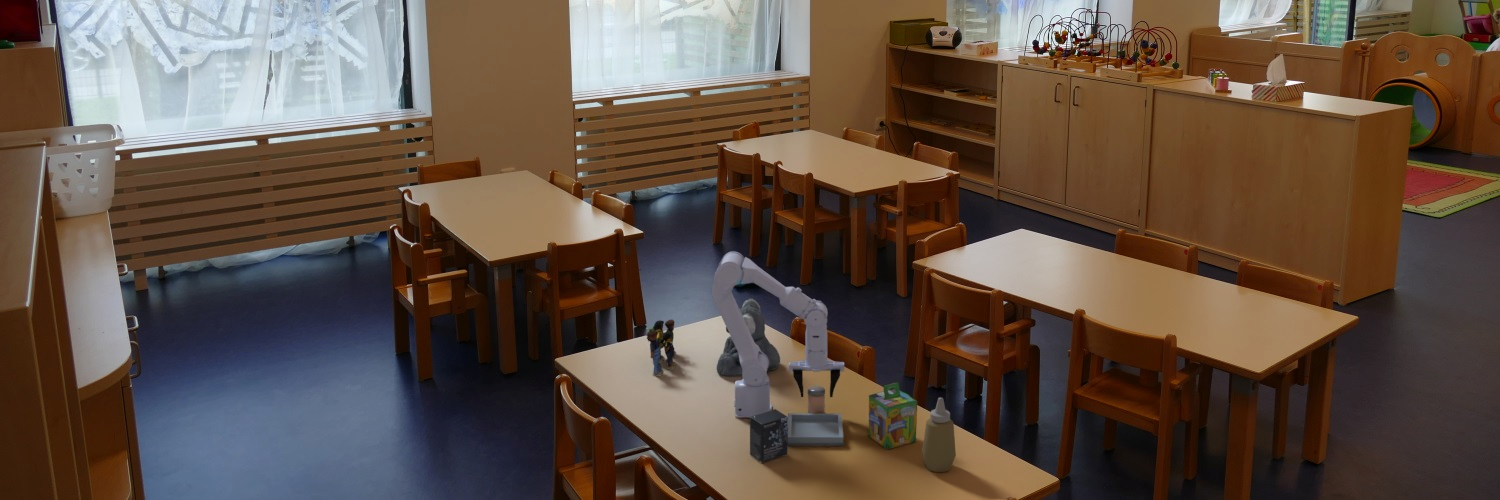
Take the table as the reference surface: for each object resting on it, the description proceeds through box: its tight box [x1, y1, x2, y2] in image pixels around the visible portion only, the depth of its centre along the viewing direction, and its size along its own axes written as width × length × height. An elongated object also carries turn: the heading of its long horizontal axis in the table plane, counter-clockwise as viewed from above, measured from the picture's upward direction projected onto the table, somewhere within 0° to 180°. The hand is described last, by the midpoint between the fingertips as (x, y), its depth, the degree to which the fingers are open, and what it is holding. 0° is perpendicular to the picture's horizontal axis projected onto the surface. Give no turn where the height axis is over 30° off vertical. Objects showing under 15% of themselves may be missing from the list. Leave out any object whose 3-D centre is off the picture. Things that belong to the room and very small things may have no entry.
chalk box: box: [867, 382, 918, 450], centre depth 295 cm, size 9×9×15 cm
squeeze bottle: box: [921, 397, 957, 473], centre depth 280 cm, size 8×8×18 cm
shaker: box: [807, 385, 826, 413], centre depth 311 cm, size 5×5×7 cm
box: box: [749, 408, 789, 464], centre depth 288 cm, size 8×6×11 cm
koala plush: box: [716, 298, 781, 377], centre depth 341 cm, size 17×18×20 cm
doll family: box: [645, 319, 678, 377], centre depth 345 cm, size 23×9×13 cm, turn 6°
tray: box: [787, 412, 844, 447], centre depth 301 cm, size 14×14×2 cm
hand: (816, 395), depth 311 cm, fingers open, 7 cm apart
